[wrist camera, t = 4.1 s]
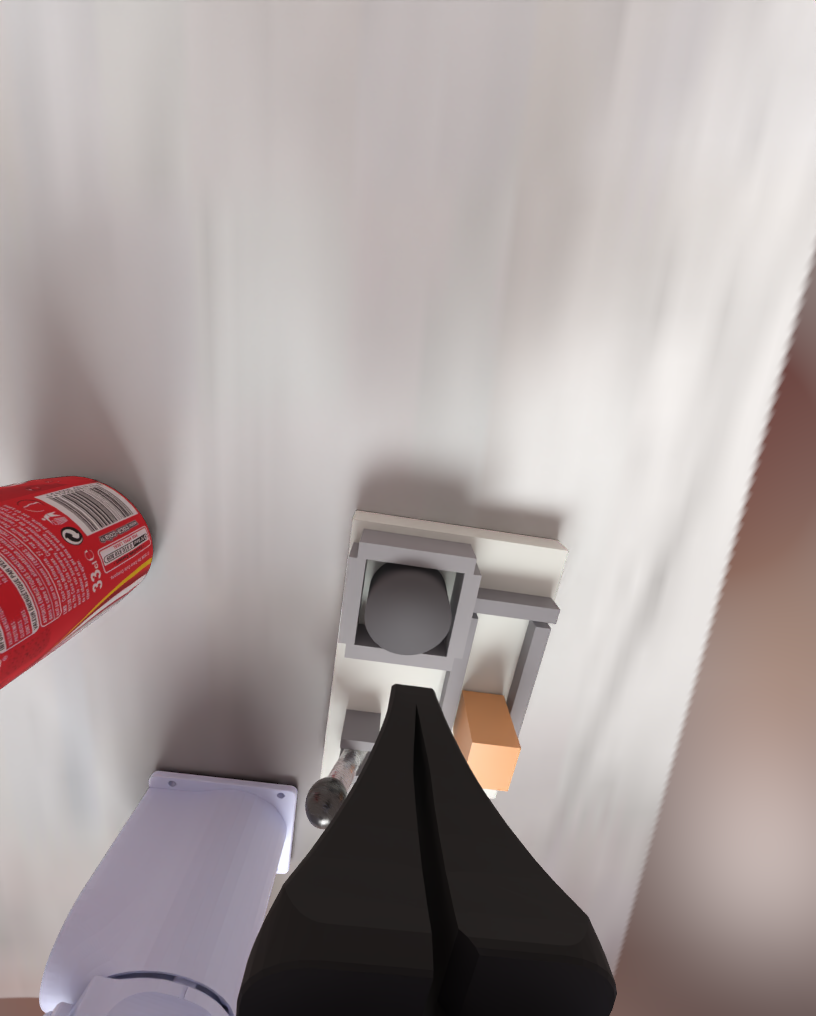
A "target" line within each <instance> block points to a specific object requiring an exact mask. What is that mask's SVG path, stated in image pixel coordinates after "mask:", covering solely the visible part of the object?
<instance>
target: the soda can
mask: <svg viewBox="0 0 816 1016" xmlns="http://www.w3.org/2000/svg"><path fill="white" fill-rule="evenodd" d="M152 556H153V545H152V539H151V535H150V531H149V529H148V526H147V524H146V522H145V520H144V519H143V517H142V515H141V514H140V512H139V511H138V510H137V509H136V507H135V506H134V505H133V504H132V503H131V502H130V501H129V500H128V499H127V498H126V497H125V496H123V495H122V494H121V493H119V492H118V491H117V490H115V489H113V488H111V487H110V486H108V485H106V484H104V483H101V482H99V481H96V480H93V479H89V478H85V477H77V476H64V477H55V478H47V479H39V480H30V481H26V482H21V483H16V484H12V485H7V486H2V487H0V689H1V688H3V687H4V686H6V685H7V684H8V683H10V682H11V681H13V680H14V679H15V678H17V677H18V676H20V675H21V674H22V673H24V672H25V671H27V670H28V669H29V668H31V667H32V666H33V665H35V664H36V663H38V662H39V661H40V660H42V659H43V658H44V657H46V656H47V655H49V654H50V653H51V652H53V651H54V650H55V649H57V648H58V647H60V646H61V645H62V644H64V643H65V642H66V641H68V640H69V639H71V638H72V637H73V636H75V635H76V634H77V633H79V632H80V631H81V630H83V629H84V628H85V627H87V626H88V625H90V624H91V623H92V622H94V621H95V620H96V619H98V618H99V617H100V616H102V615H103V614H104V613H106V612H107V611H108V610H110V609H111V608H112V607H114V606H115V605H116V604H117V603H118V602H120V601H121V600H122V599H123V598H124V597H125V596H126V595H127V594H128V593H129V592H131V591H132V590H133V589H134V588H135V587H136V586H137V585H138V584H139V583H140V582H141V581H142V580H143V579H144V577H145V576H146V574H147V572H148V570H149V569H150V565H151V562H152Z"/></svg>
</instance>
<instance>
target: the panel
mask: <svg viewBox="0 0 816 1016" xmlns="http://www.w3.org/2000/svg"><path fill="white" fill-rule="evenodd" d="M568 553H569V551H568V550H567V549H566V548H565V547H564V546H563V545H562V544H561V543H560V542H559V541H558V540H553V539H546V538H539V537H532V536H526V535H519V534H512V533H506V532H499V531H492V530H486V529H479V528H472V527H466V526H459V525H452V524H445V523H439V522H432V521H425V520H419V519H412V518H405V517H399V516H392V515H385V514H378V513H372V512H365V511H358V510H356V512H355V514H354V517H353V519H352V527H351V536H350V544H349V552H348V560H347V568H346V576H345V584H344V592H343V600H342V608H341V616H340V624H339V632H338V640H337V648H336V656H335V664H334V672H333V680H332V688H331V696H330V705H329V713H328V721H327V729H326V737H325V745H324V753H323V761H322V769H321V777H320V779H322V778H325V777H328V775H329V774H330V772H331V770H332V769H333V767H334V765H335V764H336V762H337V760H338V759H339V757H340V755H341V754H342V752H343V751H344V749H354V750H362V751H368V753H367V755H366V757H365V759H364V761H363V762H362V764H361V766H360V768H359V770H358V772H357V774H356V776H355V777H354V779H353V781H352V783H351V784H355V782H356V780H357V778H358V776H359V775H360V773H361V771H362V769H363V767H364V765H365V763H366V761H367V759H368V757H369V755H370V752H371V750H372V748H373V746H374V744H375V742H376V739H377V737H378V735H379V732H380V729H381V727H382V724H383V721H384V719H385V716H386V713H387V709H388V703H389V698H390V692H391V686H393V685H394V684H402V685H410V686H418V687H426V688H432V689H433V690H434V691H435V693H436V696H437V699H438V702H439V704H440V707H441V709H442V712H443V714H444V716H445V719H446V721H447V723H448V725H449V728H450V730H451V732H452V734H453V726H454V722H455V718H456V714H457V710H458V705H459V701H460V697H461V693H462V690H465V691H473V692H481V693H489V694H497V695H504V698H505V701H506V704H507V707H508V710H509V713H510V716H511V719H512V722H513V725H514V729H515V732H516V735H517V738H518V736H519V733H520V729H521V726H522V723H523V720H524V716H525V713H526V710H527V706H528V703H529V700H530V697H531V693H532V690H533V687H534V683H535V680H536V677H537V674H538V670H539V667H540V664H541V660H542V657H543V654H544V651H545V647H546V644H547V641H548V637H549V634H550V631H551V628H550V627H549V625H548V623H553V624H556V622H557V618H558V615H559V612H560V609H559V608H558V606H557V605H556V604H555V602H554V600H555V596H556V593H557V590H558V586H559V583H560V580H561V576H562V573H563V570H564V566H565V563H566V560H567V556H568ZM387 562H389V563H396V564H403V565H410V566H417V567H424V568H431V569H438V570H439V572H440V573H441V575H442V576H443V578H444V581H445V584H446V589H447V594H448V598H449V603H450V608H451V614H452V620H451V625H450V629H449V631H448V633H447V635H446V636H445V638H444V639H443V640H442V641H441V642H440V643H439V644H438V645H437V646H436V647H434V648H433V649H431V650H429V651H427V652H424V653H421V654H417V655H399V654H395V653H392V652H389V651H387V650H385V649H383V648H382V647H380V646H379V645H378V644H376V643H375V642H374V641H373V639H372V638H371V637H370V635H369V633H368V631H367V629H366V625H365V618H364V616H365V608H366V603H367V598H368V592H369V587H370V582H371V580H372V577H373V576H374V574H375V573H376V571H377V570H378V569H379V568H380V567H381V566H382V565H384V564H385V563H387ZM453 736H454V734H453ZM483 790H484V792H485V793H486V795H487V796H488V798H494V799H495V797H496V793H497V790H491V789H483Z"/></svg>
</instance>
